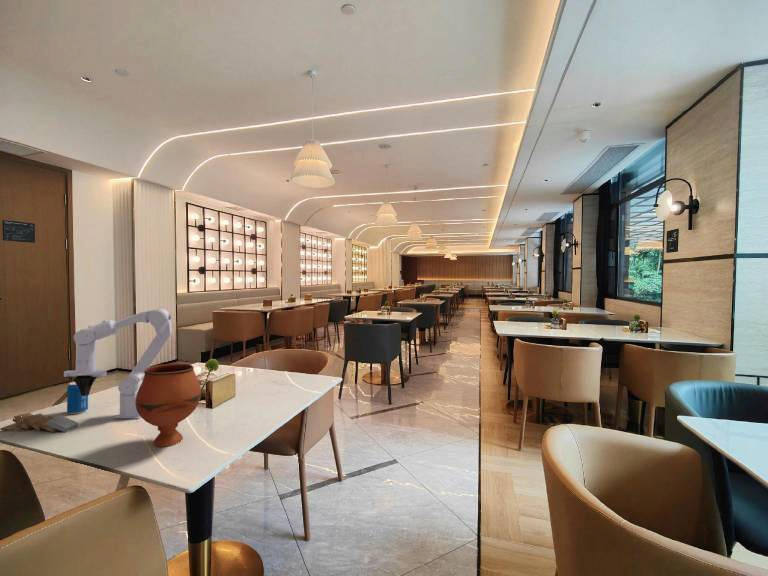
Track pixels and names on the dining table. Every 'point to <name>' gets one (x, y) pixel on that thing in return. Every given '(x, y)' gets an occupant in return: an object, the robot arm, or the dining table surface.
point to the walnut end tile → (13, 427)
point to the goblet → (168, 399)
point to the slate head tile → (62, 423)
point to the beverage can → (76, 400)
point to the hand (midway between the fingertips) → (85, 395)
